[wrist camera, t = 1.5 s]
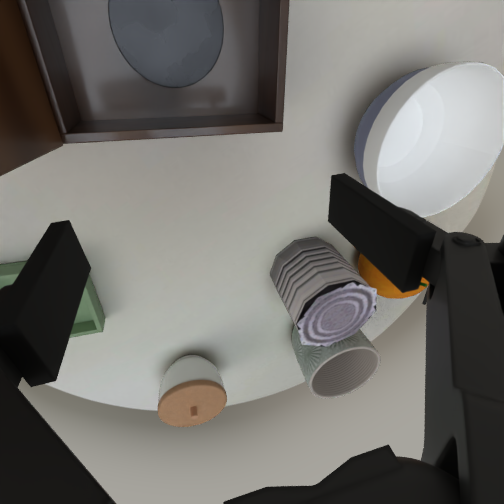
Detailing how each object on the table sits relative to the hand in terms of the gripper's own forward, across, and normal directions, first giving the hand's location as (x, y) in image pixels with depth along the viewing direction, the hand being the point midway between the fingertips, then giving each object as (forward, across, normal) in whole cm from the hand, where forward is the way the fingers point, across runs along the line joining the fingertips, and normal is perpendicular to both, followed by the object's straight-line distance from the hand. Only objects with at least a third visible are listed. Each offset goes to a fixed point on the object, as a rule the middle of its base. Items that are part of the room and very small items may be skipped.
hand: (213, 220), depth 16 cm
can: (+22, +15, -22) cm, 35 cm away
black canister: (+21, 0, +9) cm, 23 cm away
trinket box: (+22, -7, -39) cm, 45 cm away
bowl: (+22, +26, -3) cm, 34 cm away
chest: (+22, 0, +9) cm, 24 cm away
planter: (+22, +18, -37) cm, 46 cm away
